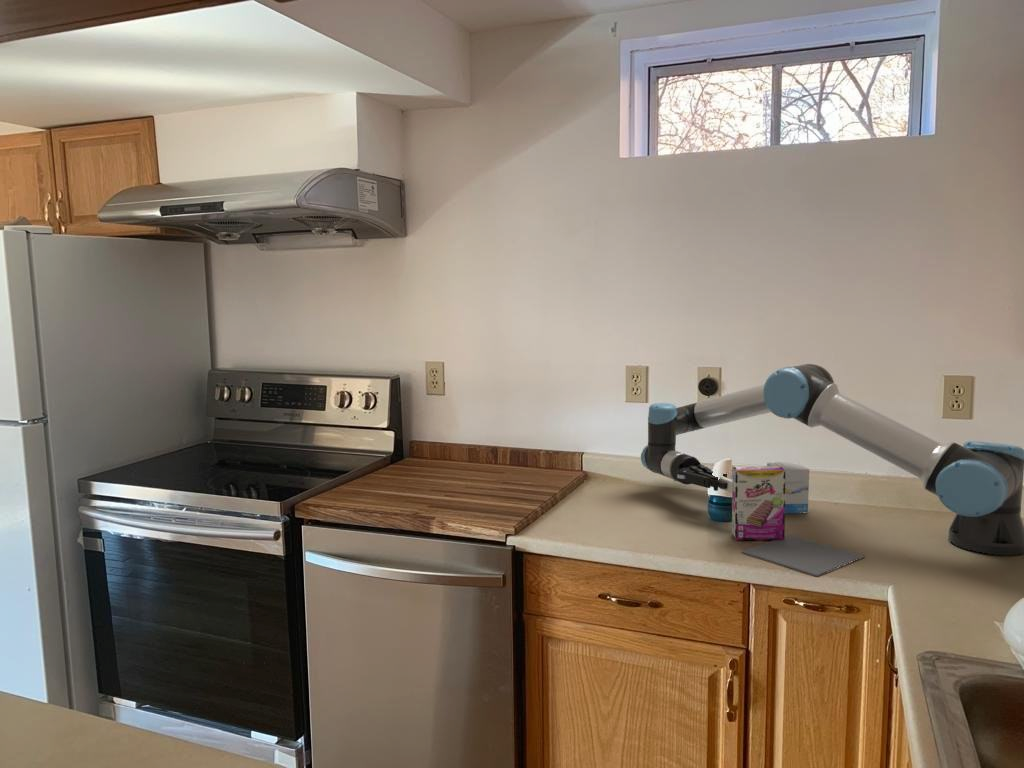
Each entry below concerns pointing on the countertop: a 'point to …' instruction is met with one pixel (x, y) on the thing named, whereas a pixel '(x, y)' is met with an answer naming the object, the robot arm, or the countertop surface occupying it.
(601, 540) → the countertop surface
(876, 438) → the robot arm
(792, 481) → the ink box
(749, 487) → the candy bar box
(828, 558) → the mat
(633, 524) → the countertop surface
